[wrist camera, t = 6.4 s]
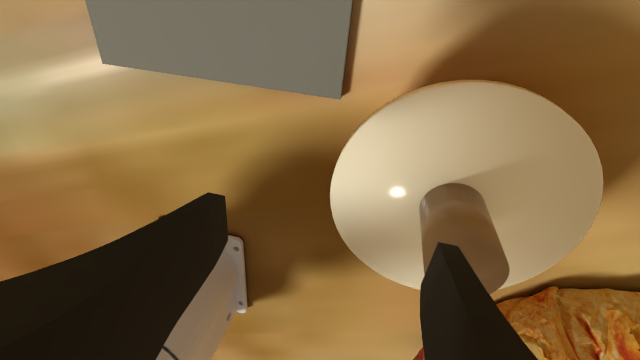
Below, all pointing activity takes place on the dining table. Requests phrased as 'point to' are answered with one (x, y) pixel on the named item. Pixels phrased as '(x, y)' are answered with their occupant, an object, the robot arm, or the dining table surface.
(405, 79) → the dining table surface
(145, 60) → the mat
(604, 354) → the croissant
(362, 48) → the dining table surface
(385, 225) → the lid
